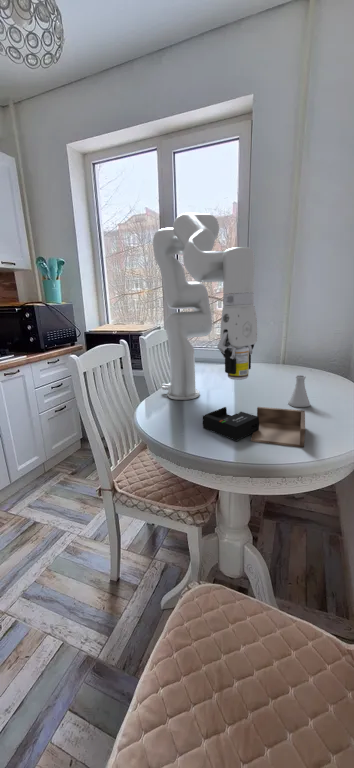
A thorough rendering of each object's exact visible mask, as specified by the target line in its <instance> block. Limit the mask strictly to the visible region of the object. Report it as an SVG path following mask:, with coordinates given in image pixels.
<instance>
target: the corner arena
mask: <svg viewBox="0 0 354 768" xmlns="http://www.w3.org/2000/svg"><path fill="white" fill-rule="evenodd" d="M256 416H258V417H259V430H257V431H255V432H253V433H252V435H251V439H250V441H251V442H255V443H263V444H271V445H280V446H289V447H297V448H304V447H305V439H306V438H305V437H306V411H305V410H303V409H302V410H300V409H289V408H277V407H276V408H275V407H264V406H257V408H256Z"/></svg>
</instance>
